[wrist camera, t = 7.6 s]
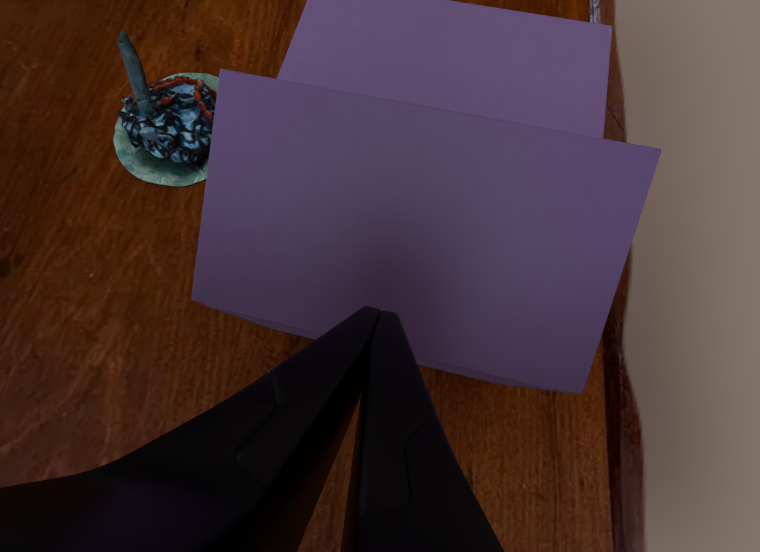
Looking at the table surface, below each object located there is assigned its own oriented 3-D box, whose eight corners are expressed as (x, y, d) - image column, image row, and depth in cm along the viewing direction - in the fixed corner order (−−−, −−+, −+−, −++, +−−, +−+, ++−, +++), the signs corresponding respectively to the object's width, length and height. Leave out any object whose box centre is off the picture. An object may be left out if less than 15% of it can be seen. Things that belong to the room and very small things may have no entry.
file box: (498, 384, 19) (584, 395, 11) (270, 328, 20) (189, 299, 12) (532, 148, 22) (614, 24, 14) (339, 112, 23) (314, -23, 15)
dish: (57, 142, 20) (92, 15, 17) (134, 123, 26) (170, 27, 23) (188, 222, 23) (240, 125, 19) (230, 188, 29) (275, 109, 26)
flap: (577, 389, 11) (582, 395, 10) (197, 298, 12) (190, 300, 12) (652, 152, 10) (662, 148, 9) (226, 73, 11) (219, 68, 10)
